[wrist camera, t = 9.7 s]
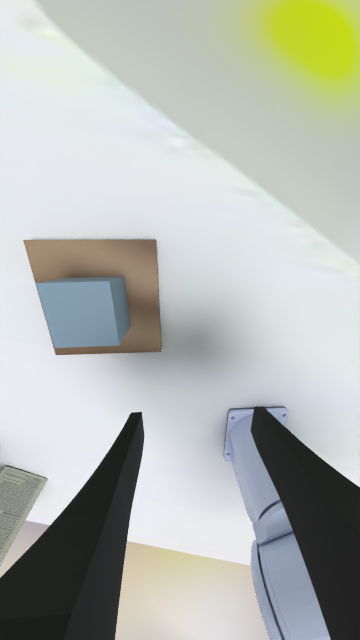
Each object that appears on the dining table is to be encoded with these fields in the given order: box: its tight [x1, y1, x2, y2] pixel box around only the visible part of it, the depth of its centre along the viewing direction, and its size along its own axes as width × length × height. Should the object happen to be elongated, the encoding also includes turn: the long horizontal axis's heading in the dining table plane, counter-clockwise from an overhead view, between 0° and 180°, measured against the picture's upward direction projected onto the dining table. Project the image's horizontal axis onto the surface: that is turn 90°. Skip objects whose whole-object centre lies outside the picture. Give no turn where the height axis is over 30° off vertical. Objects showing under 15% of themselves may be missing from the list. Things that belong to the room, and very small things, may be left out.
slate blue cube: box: [36, 276, 130, 348], centre depth 15 cm, size 5×5×4 cm
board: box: [23, 240, 161, 355], centre depth 16 cm, size 11×11×4 cm
